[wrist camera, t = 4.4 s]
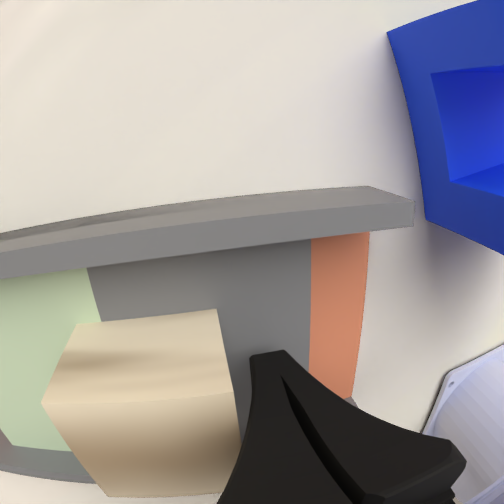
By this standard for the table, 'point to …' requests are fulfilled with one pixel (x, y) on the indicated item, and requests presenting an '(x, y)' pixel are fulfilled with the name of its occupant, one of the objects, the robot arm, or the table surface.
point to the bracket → (458, 115)
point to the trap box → (187, 294)
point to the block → (148, 405)
